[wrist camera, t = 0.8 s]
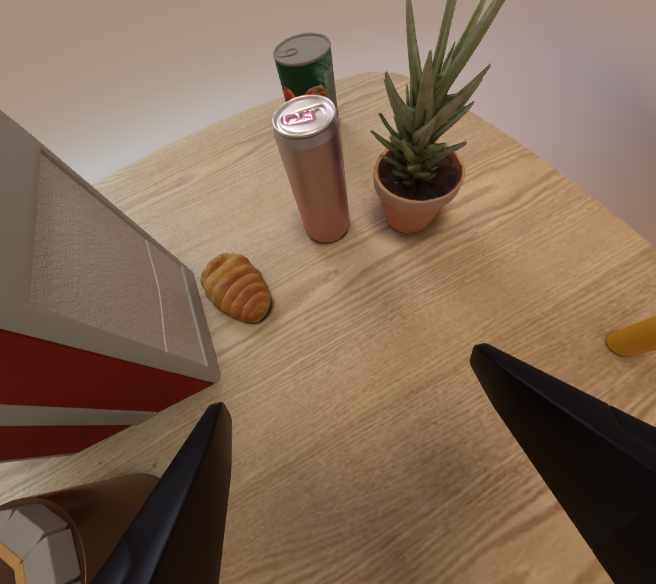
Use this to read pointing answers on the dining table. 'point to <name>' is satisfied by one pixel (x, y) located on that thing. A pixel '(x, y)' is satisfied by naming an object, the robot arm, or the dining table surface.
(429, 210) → the potted plant
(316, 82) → the canned tomato
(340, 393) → the dining table surface
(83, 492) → the brown cylindrical pot
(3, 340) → the red gift box
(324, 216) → the beverage can
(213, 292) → the pastry
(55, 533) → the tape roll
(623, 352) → the pencil
